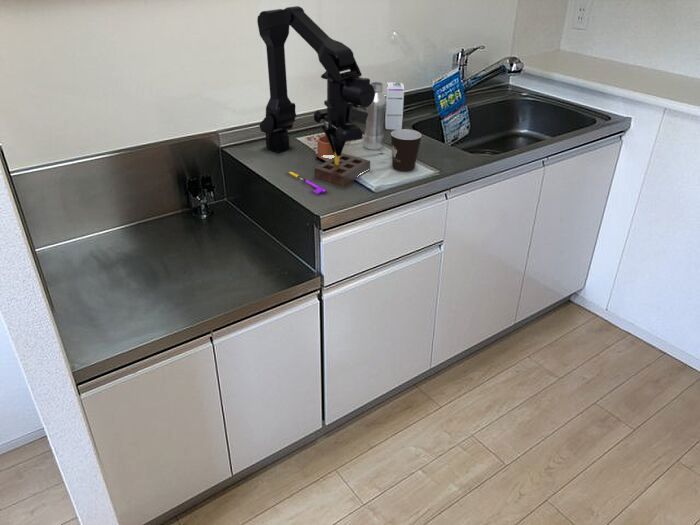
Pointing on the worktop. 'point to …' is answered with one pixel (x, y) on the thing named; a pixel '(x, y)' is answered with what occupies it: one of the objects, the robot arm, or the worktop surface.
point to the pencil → (337, 159)
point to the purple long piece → (311, 184)
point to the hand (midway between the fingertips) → (337, 154)
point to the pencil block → (342, 170)
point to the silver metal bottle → (375, 119)
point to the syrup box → (394, 105)
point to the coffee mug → (404, 149)
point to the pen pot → (324, 147)
